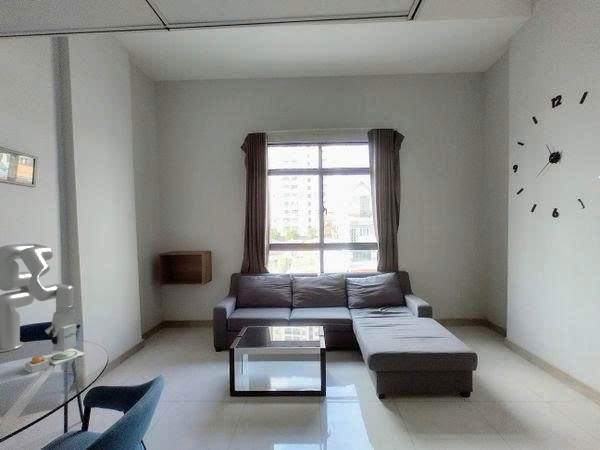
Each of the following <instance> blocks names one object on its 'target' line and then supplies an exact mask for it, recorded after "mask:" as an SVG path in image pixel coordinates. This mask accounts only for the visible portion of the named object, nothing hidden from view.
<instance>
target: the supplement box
mask: <svg viewBox="0 0 600 450" xmlns="http://www.w3.org/2000/svg"><path fill="white" fill-rule="evenodd" d="M76 326H77V325H76V324H73V325H69V326H65V327H62V328H60V331H59V332H58V333H57V335H56V337H57V344H53V343H52V351H54V352H64V351H66V350H68V349H71V348H73V349H74V348H75V347H76V346H77V336H76ZM54 330H55V329H54V328H53V331H54ZM53 331H52V332H53Z"/></svg>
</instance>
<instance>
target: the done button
mask: <svg viewBox="0 0 600 450" xmlns="http://www.w3.org/2000/svg"><path fill="white" fill-rule="evenodd" d="M43 357H44V356H43V355H36V356H34V357H31V361H32V364H37V363H40V362H43Z"/></svg>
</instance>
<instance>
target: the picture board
mask: <svg viewBox="0 0 600 450" xmlns="http://www.w3.org/2000/svg"><path fill="white" fill-rule="evenodd" d="M78 356H81V357H84V356H86V353H85V352H83V351H81V350H80V351H79V350H77V349H76V348H74V347H73V348H70V349H68V350H66V351H64V352H61V351H58V352H56V353H52V354H49V355H46V356H43V358H45V359H47V360H49V364H52V365H54V366H58V365H62V364H64V363H66V362H69V361H70V362H71V361H72V360H76V359H78V358H77V357H78ZM81 357H80V358H81Z"/></svg>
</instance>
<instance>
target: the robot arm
mask: <svg viewBox="0 0 600 450" xmlns="http://www.w3.org/2000/svg"><path fill="white" fill-rule="evenodd" d="M53 254H54V253H53V251H52V249H51V247H49V246H46V245H43V244H37V243H20V244H19V243H18V244H17V243H16V244H6V245H3V246H0V290H1V291H3V292H5V291H6V293H2V294H0V353H4V352H10V351H14V350H17V349H20V348H21V347H23V346H24V341H20V340H21V339H20V338H21V330H20V329H21V315H20V313H19V312H18V311H17V310H16V309H17V308H21V307H26V306H29V305H31V304H33V303H34V301H35V300H37V301H38V302H46V301H50V300H53V299H55V312H54V313H53V315H52V320H51V325H50V326H49V327H47V328H46V329H45V330H44V332H45V333H46V334H47V335H48V336H50V337H51V343H52V345H53V344H57V337H56V335H57V333H58V332H59V331H60V328H62V327H65V326H69V325H73V324H76V337H77V336H78V331H79V329H80V327H81V326H82V324H83V320H78V319H77V313H76V310H75V309H74V308H77V304H74V297H75V296H74V286H73V285H70V284H67V285H66V284H63V283H54V284H50V285H49V284H48V285H45V286H43V285H42V284H41V282H40V281H39V280H40V278H41V277H42V276H44V275H46V274H47V273H48V272H49V271H50V270H51V266H50V265H49V263H48V262H47V261H49V260H51V259H52V258H53ZM16 260H22V262H23V263H24V265H25V267H26V268H27V270H28V271H21V272H20V266H19V264H18V262H17V261H16ZM19 289H20V290H19ZM13 290H14V291H13ZM15 290H17V291H15ZM7 291H10V292H7ZM11 291H12V292H11ZM53 328H54V329H55V330H54V331H53ZM51 331H52V332H51Z"/></svg>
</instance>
